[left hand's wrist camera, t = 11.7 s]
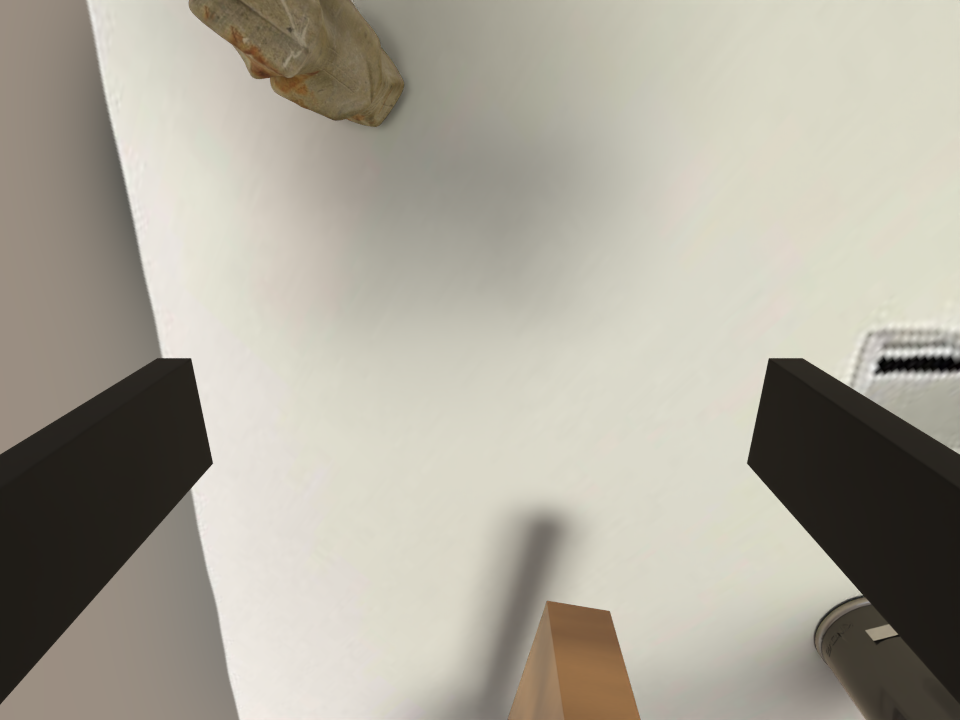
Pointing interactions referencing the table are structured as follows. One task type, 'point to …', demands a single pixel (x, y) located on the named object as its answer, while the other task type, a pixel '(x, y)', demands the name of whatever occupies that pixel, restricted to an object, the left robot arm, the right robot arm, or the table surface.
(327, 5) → the sculpture
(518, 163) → the table surface
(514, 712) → the bar
